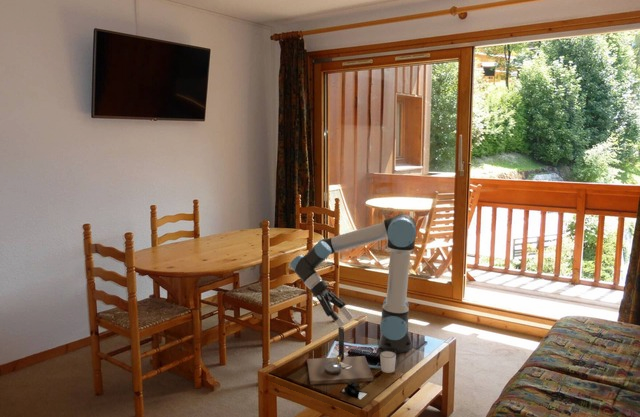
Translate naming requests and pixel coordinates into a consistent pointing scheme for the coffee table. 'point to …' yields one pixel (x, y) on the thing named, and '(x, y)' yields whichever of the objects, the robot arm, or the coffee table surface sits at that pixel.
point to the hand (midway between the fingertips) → (347, 322)
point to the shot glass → (387, 361)
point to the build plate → (353, 390)
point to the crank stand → (350, 370)
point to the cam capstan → (335, 365)
